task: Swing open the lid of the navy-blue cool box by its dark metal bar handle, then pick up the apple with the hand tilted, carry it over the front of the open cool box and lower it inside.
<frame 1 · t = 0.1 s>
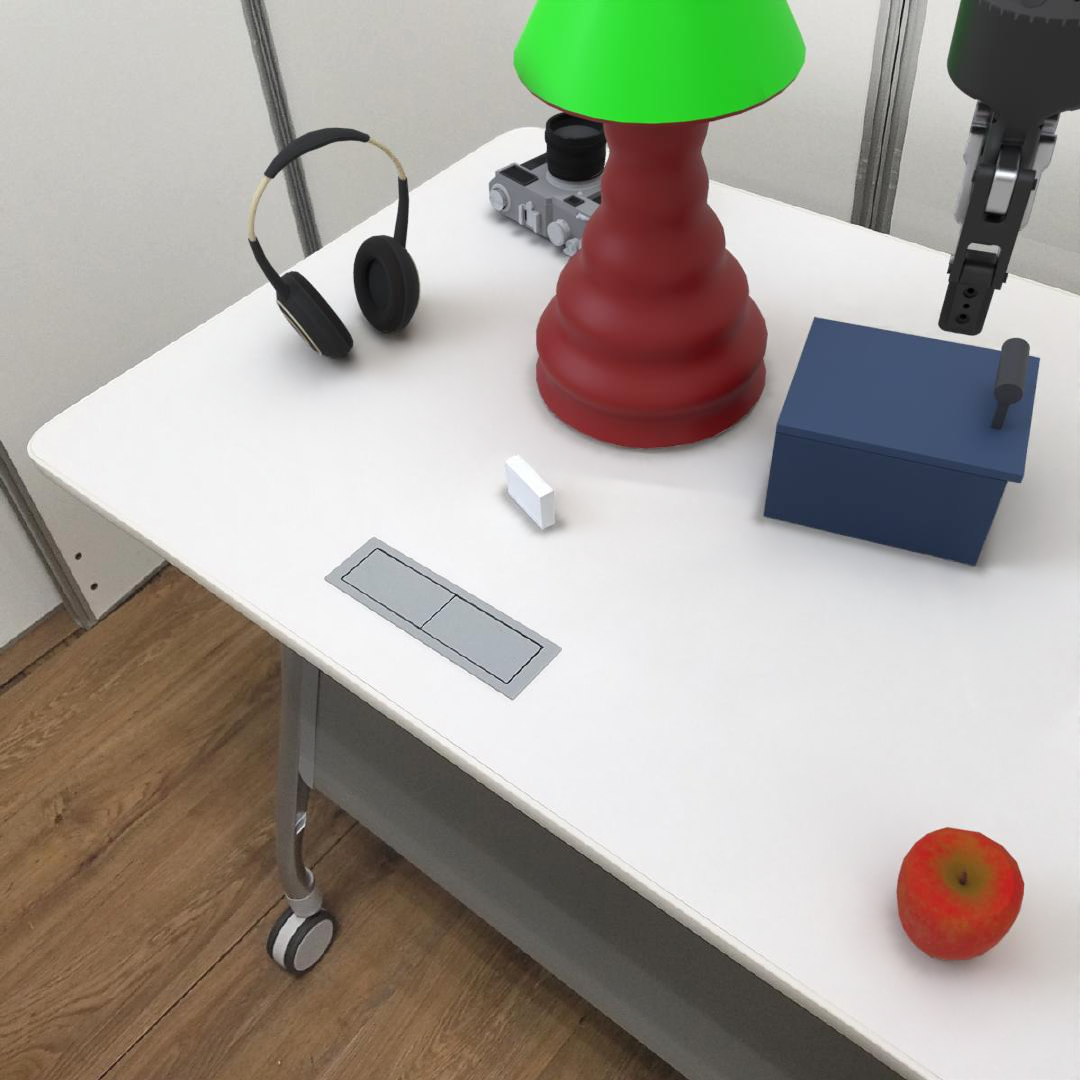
hand: (968, 282, 60), 26 cm above the table, tool pointing down, fingers open, 8 cm apart
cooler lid: (915, 371, 77), point 11 cm above the table, hinge at 0.0°
eraser: (531, 509, 86), on the table
table lamp: (649, 375, 95), on the table
headphones: (359, 338, 101), on the table
apple: (937, 927, 63), on the table
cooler: (881, 482, 85), on the table
camera: (576, 225, 111), on the table
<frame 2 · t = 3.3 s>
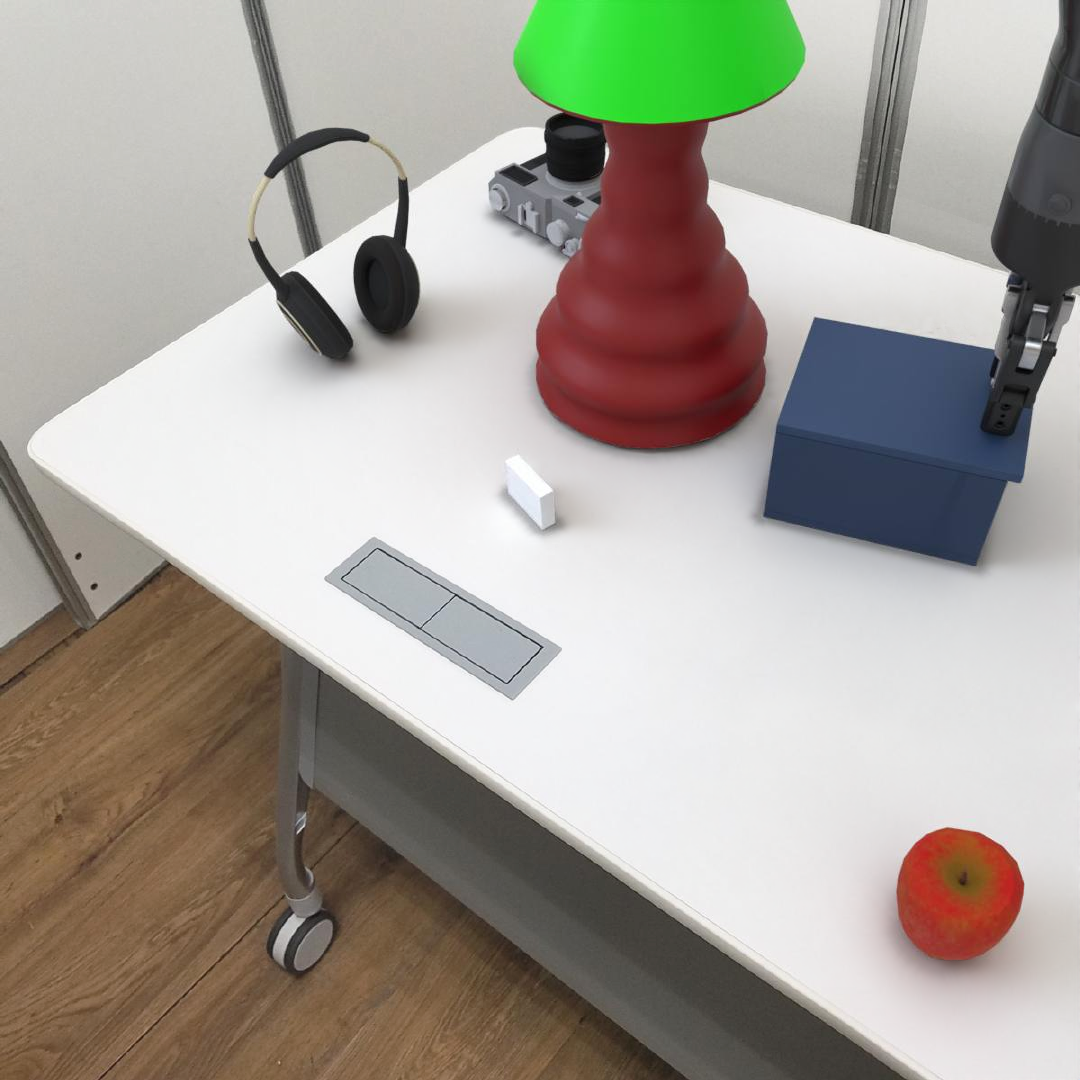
hand: (1000, 402, 76), 10 cm above the table, tool pointing down, fingers closed on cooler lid, 5 cm apart
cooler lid: (915, 371, 77), point 11 cm above the table, hinge at 0.0°, touching gripper
everything else where it was.
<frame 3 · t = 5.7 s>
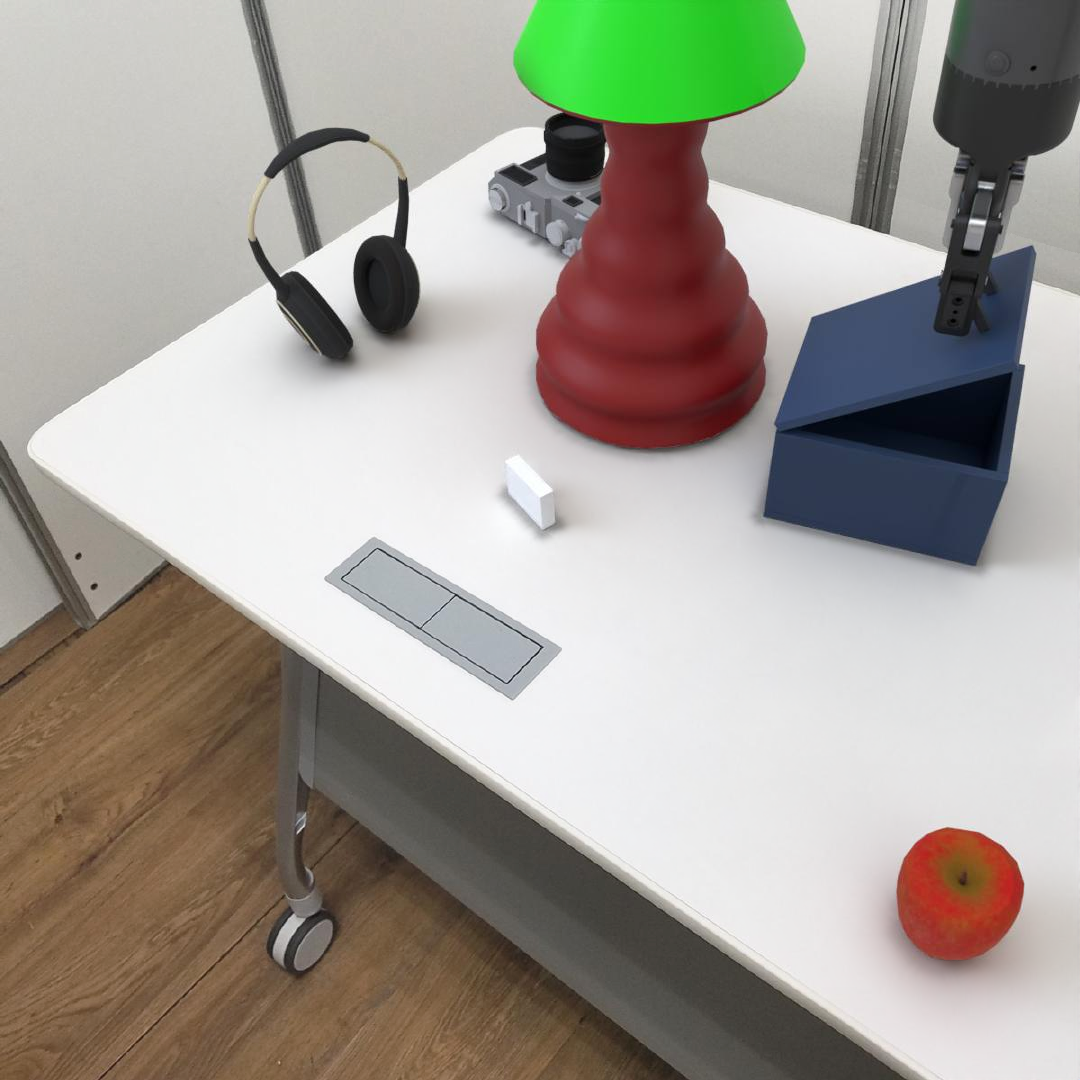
hand: (956, 304, 72), 17 cm above the table, tool pointing down, fingers closed on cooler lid, 5 cm apart
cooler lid: (890, 316, 74), point 16 cm above the table, hinge at 33.5°, touching gripper
everything else where it was.
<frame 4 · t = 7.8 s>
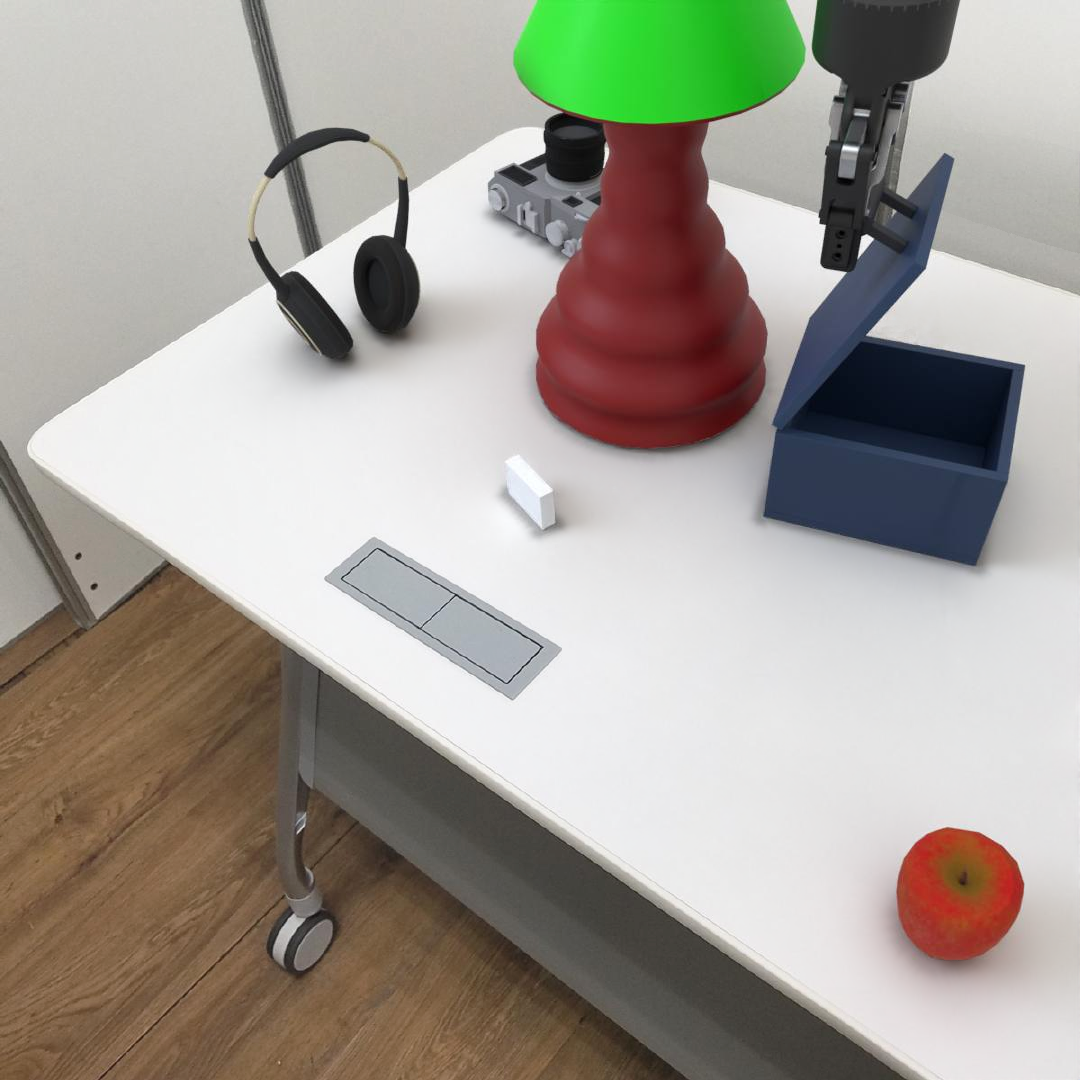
hand: (846, 241, 71), 21 cm above the table, tool pointing down, fingers closed on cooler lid, 5 cm apart
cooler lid: (833, 281, 74), point 18 cm above the table, hinge at 65.2°, touching gripper
everything else where it was.
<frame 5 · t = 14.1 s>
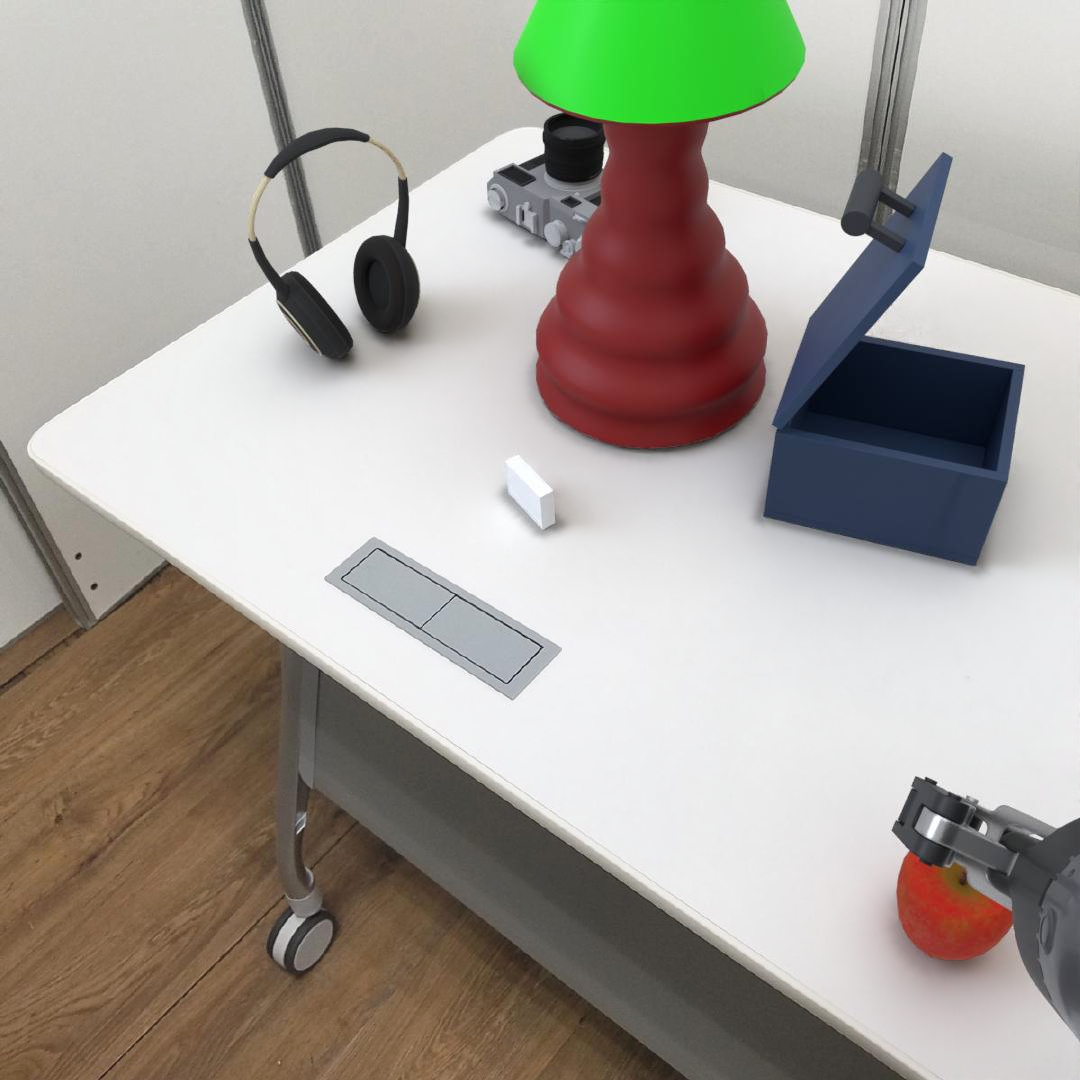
hand: (1051, 865, 47), 17 cm above the table, tool tilted 35°, fingers open, 8 cm apart
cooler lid: (832, 280, 74), point 18 cm above the table, hinge at 65.6°
everything else where it was.
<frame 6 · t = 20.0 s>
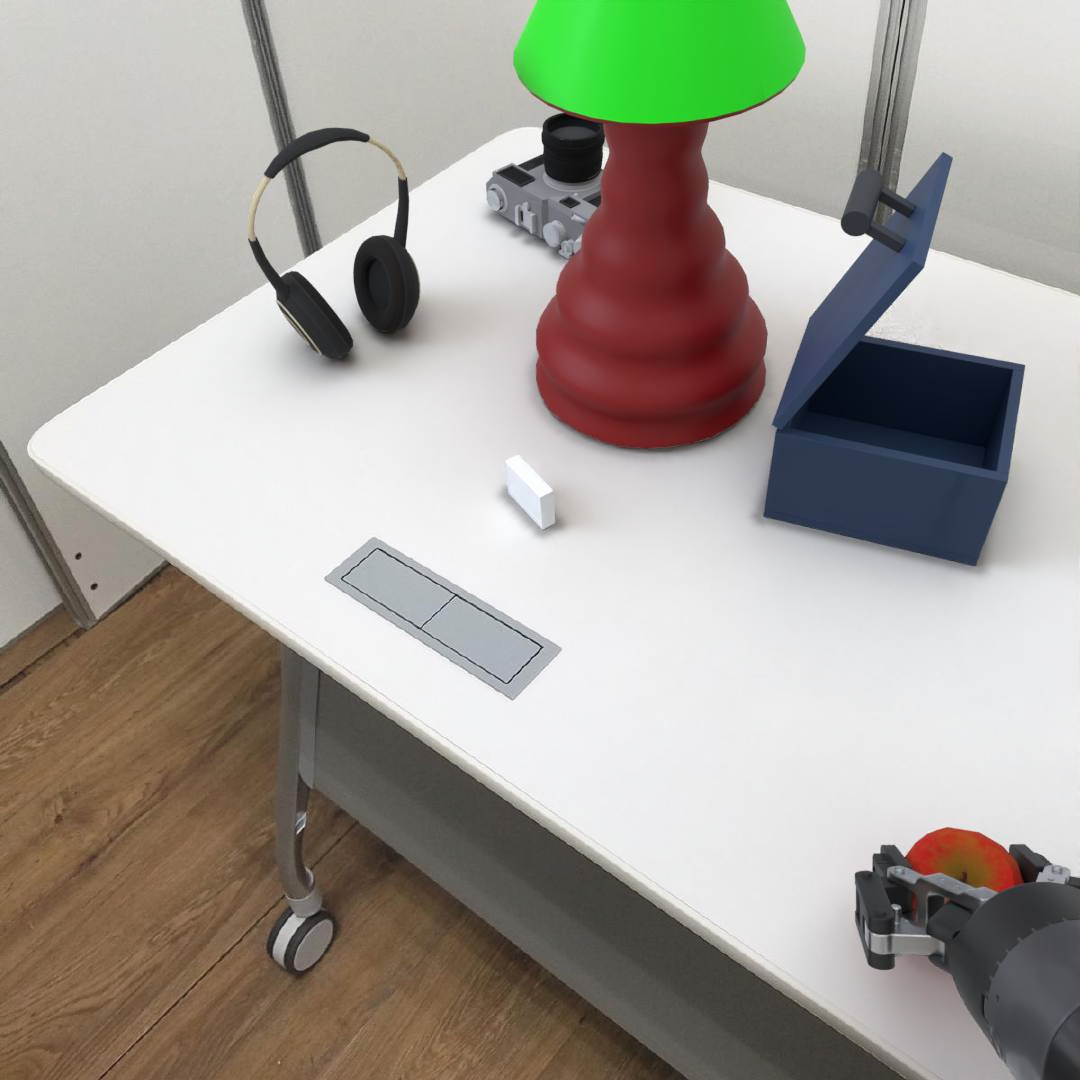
hand: (950, 861, 60), 5 cm above the table, tool tilted 45°, fingers closed on apple, 6 cm apart
apple: (937, 927, 63), on the table, touching gripper
everything else where it was.
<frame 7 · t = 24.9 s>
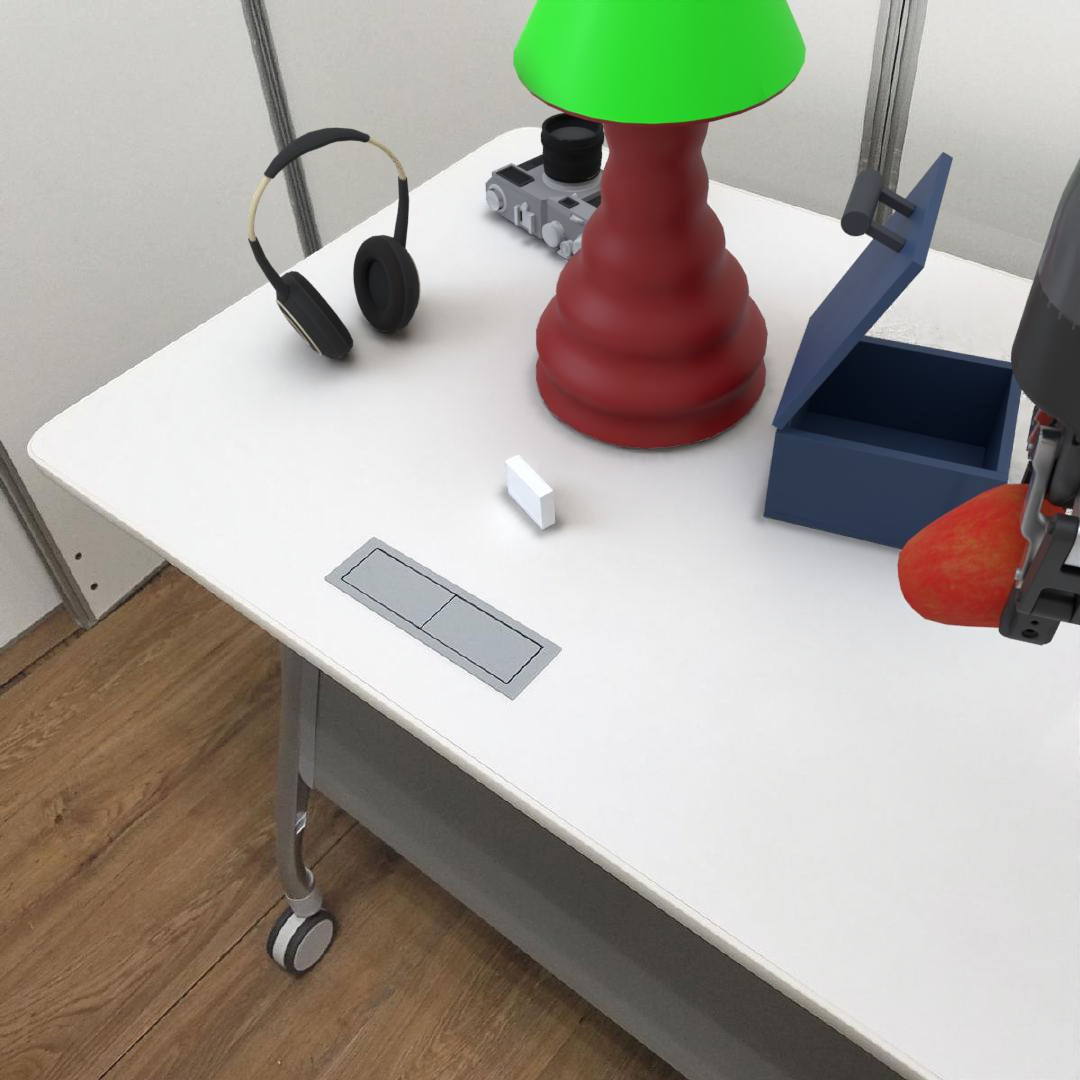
hand: (1028, 575, 51), 22 cm above the table, tool pointing down, fingers closed on apple, 6 cm apart
apple: (913, 587, 54), point 20 cm above the table, touching gripper
everything else where it was.
when the fingers open (8 cm above the table, at t = 33.0 s): apple drops 4 cm, resting on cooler.
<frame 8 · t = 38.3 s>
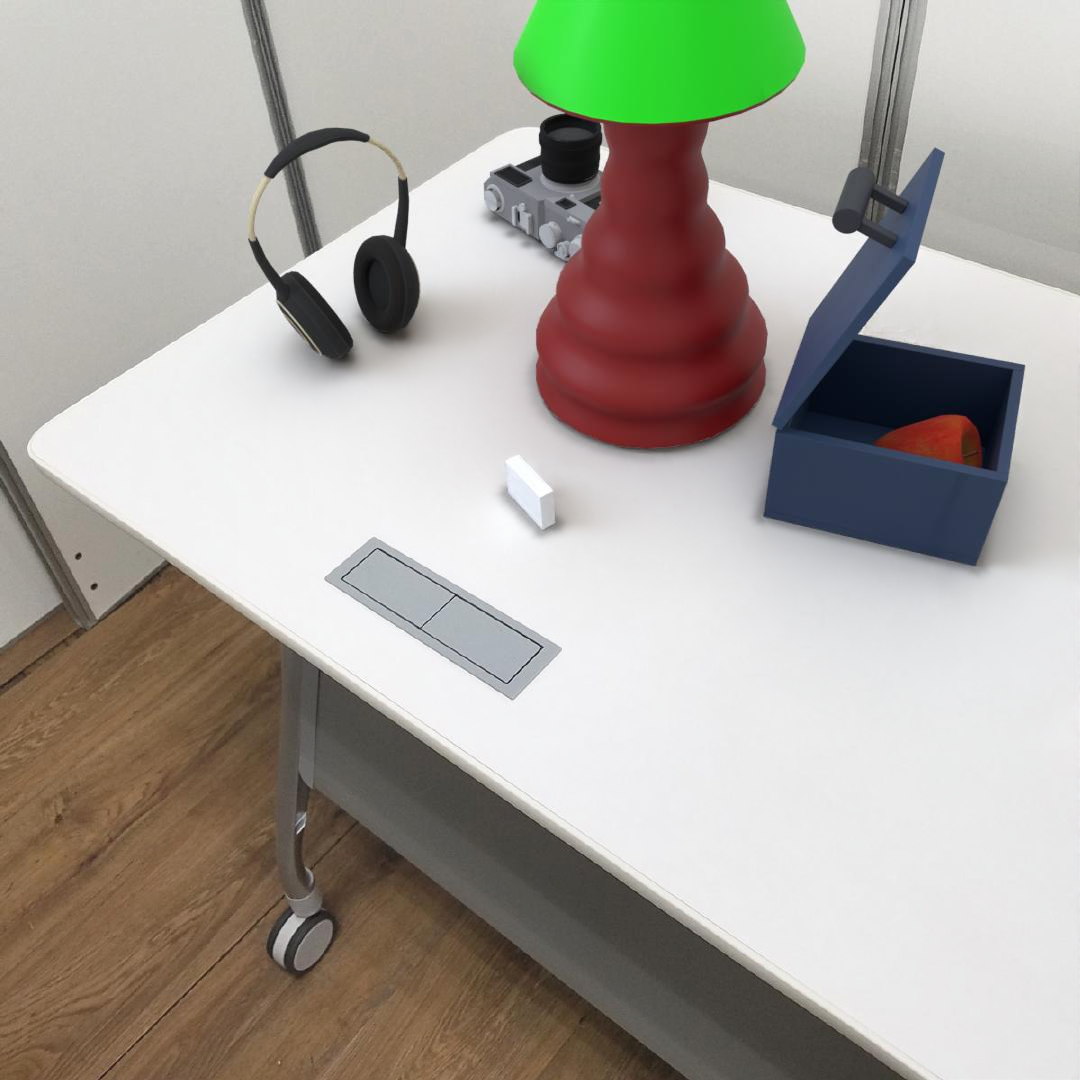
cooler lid: (827, 279, 74), point 18 cm above the table, hinge at 67.8°
apple: (875, 466, 83), point 2 cm above the table, touching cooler
everything else where it was.
at the end: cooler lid at +68° (first picture: +0°); apple inside the target area in the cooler (1.0 cm from its centre), point 2.2 cm above the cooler's base; the gripper is holding nothing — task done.
